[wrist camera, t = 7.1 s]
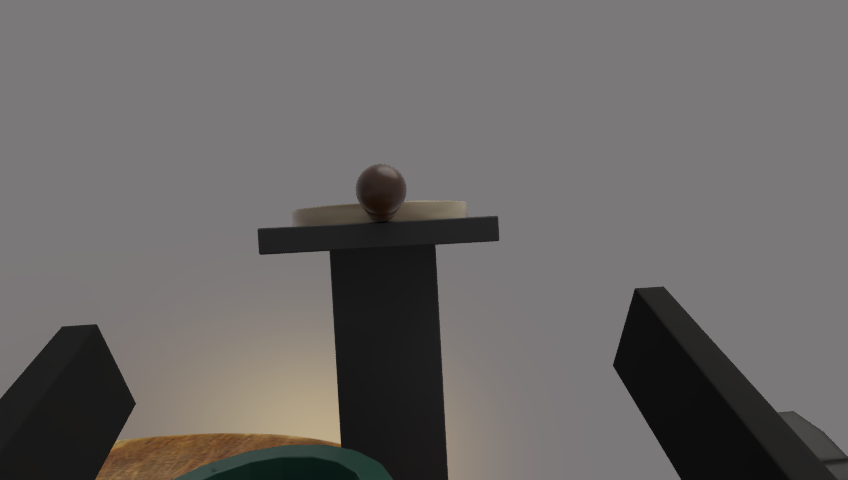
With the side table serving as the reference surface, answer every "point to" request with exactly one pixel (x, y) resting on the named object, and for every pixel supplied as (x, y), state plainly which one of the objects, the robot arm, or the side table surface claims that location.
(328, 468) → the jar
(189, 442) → the side table surface
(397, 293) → the square pedestal stand
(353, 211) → the wooden paddle
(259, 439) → the side table surface
